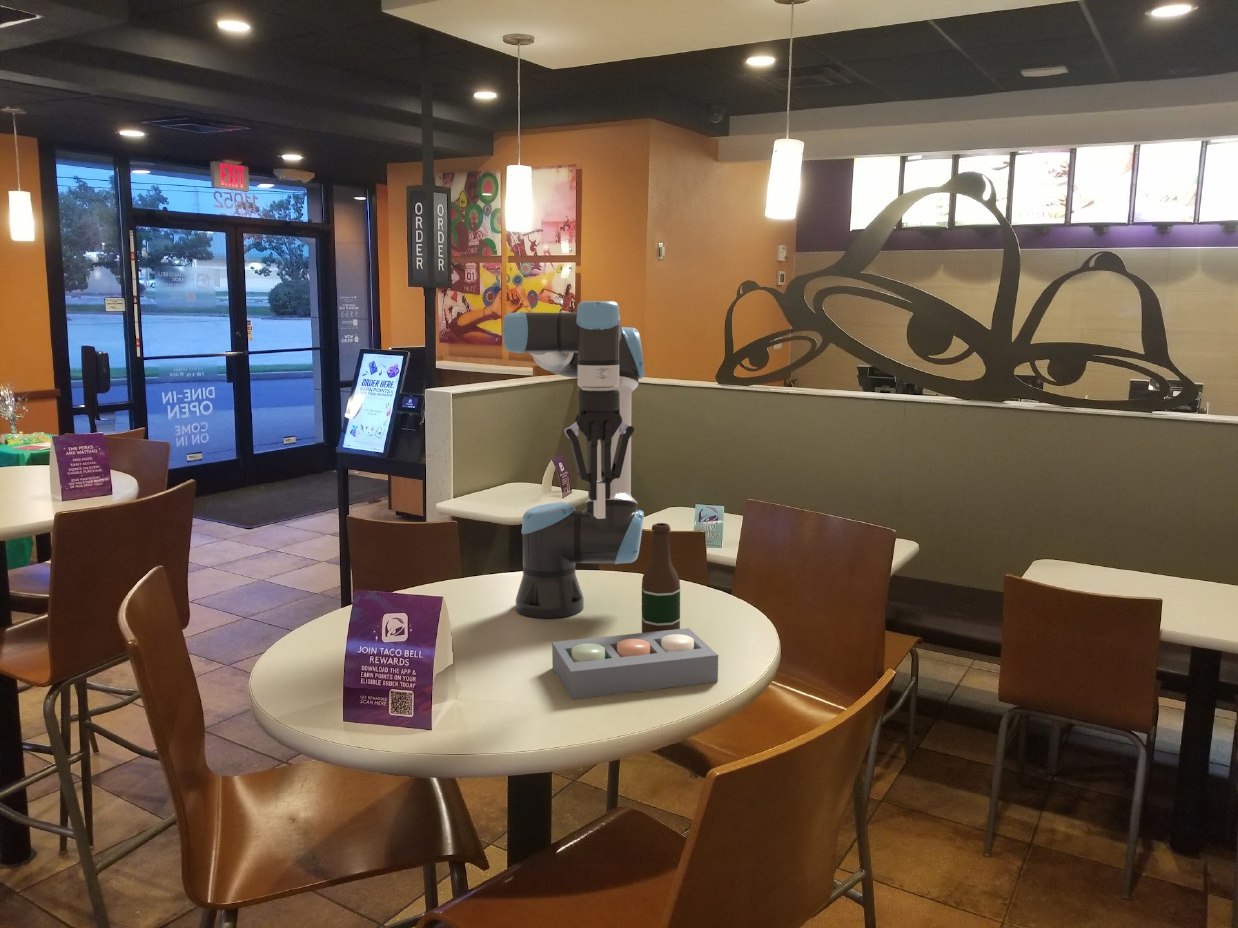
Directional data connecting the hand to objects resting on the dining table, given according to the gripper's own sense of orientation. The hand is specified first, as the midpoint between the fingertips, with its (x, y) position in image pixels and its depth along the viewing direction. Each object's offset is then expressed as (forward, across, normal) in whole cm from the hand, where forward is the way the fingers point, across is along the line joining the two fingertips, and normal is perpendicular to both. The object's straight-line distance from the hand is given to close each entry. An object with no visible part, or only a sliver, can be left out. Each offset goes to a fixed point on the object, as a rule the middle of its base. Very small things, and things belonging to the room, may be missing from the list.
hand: (599, 516), depth 173 cm
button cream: (+27, +13, -6) cm, 31 cm away
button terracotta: (+27, +4, -6) cm, 28 cm away
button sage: (+27, -4, -7) cm, 28 cm away
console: (+28, +4, -6) cm, 29 cm away
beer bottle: (+29, +15, +9) cm, 34 cm away
